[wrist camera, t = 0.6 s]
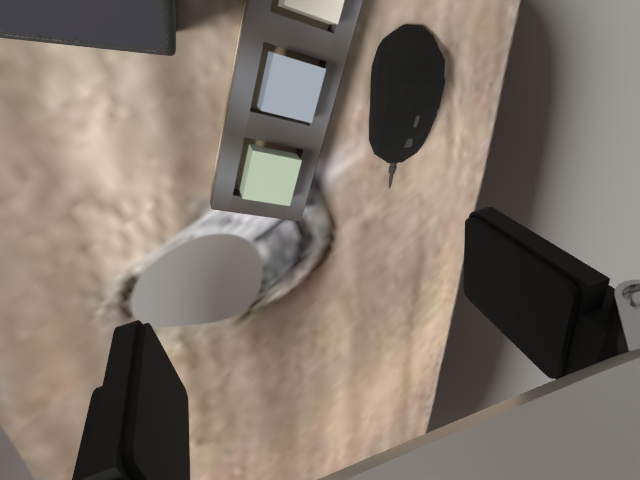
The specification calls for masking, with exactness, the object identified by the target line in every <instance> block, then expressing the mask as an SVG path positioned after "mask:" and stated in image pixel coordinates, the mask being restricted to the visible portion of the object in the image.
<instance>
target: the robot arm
mask: <svg viewBox="0 0 640 480" xmlns="http://www.w3.org/2000/svg"><path fill="white" fill-rule="evenodd" d="M609 280H610V278H608V277H607V276H605V275H603V274H602V273H600V272H598V271H597V270H595V269H593V268H591V267H590V266H588V265H587V264H585V263H583V262H582V261H580V260H578V259H577V258H575V257H574V256H572V255H570V254H569V253H567V252H565V251H563V250H562V249H560V248H558V247H557V246H555V245H554V244H552V243H550V242H549V241H547V240H545V239H544V238H542V237H540V236H539V235H537V234H536V233H534V232H532V231H531V230H529V229H527V228H526V227H524V226H522V225H521V224H519V223H517V222H516V221H514V220H512V219H511V218H509V217H508V216H506V215H504V214H503V213H501V212H499V211H498V210H496V209H494V208H492V207H486V208H484V209H480V210H477V211H474V212H472V213H470V215H469V218H468V219H467V220H466V221H465V248H464V286H463V287H464V293H465V295H466V297H467V298H468V299H469V301H471V302H472V303H473V304H474V305H475V306H476V307H477V308H478V309H479V310H480V311H481V312H482V313H483V314H484V315H485V316H486V317H487V318H488V319H489V320H490V321H491V322H492V323H493V324H494V325H495V326H496V327H497V328H498V329H499V330H500V331H501V332H502V333H503V334H504V335H505V336H507V338H508V339H510V340H511V341H512V342H513V343H514V344H515V345H516V346H517V347H518V348H519V349H520V350H521V351H522V352H523V353H524V354H525V355H526V356H527V357H528V358H529V359H530V360H531V361H532V362H533V363H534V364H535V365H536V366H537V367H538V368H539V369H540V370H541V371H542V372H543V373H544V374H545V375H547V376H548V377H550V378H552V379H554V378H555V379H556V380H554V381H552V382H549V383H547V384H544V385H542V386H540V387H537V388H535V389H532V390H530V391H528V392H525V393H523V394H520V395H518V396H515V397H513V398H511V399H508V400H506V401H504V402H501V403H498V404H496V405H494V406H491V407H489V408H486V409H484V410H482V411H479V412H477V413H475V414H472V415H470V416H467V417H465V418H462V419H460V420H458V421H456V422H453V423H451V424H448V425H446V426H444V427H441V428H439V429H436V430H434V431H432V432H429V433H427V434H424V435H422V436H420V437H417V438H415V439H412V440H410V441H408V442H405V443H403V444H401V445H398V446H396V447H393V448H391V449H389V450H386V451H384V452H382V453H379V454H377V455H375V456H372V457H370V458H367V459H365V460H363V461H360V462H358V463H356V464H353V465H351V466H349V467H346V468H344V469H342V470H339V471H337V472H335V473H332V474H330V475H328V476H325V477H323V478H321V479H318V480H640V280H630V281H625V282H623V283H621V284H619V285H618V286H617V287H616V288H615V289H614V288H613V287H611V286H609V285H608V284H609ZM72 480H190V454H189V411H188V396H187V392H186V389H185V387H184V385H183V384H182V382H181V380H180V378H179V376H178V374H177V372H176V371H175V369H174V367H173V365H172V363H171V361H170V360H169V358H168V356H167V354H166V352H165V350H164V348H163V347H162V345H161V343H160V341H159V339H158V337H157V336H156V334H155V332H154V330H153V328H152V326H151V325H150V324H149V323H146V324H142V322H141V321H139V320H137V321H134V322H131V323H128V324H125V325H122V326H119V327H116V328H115V330H114V334H113V338H112V343H111V348H110V353H109V358H108V362H107V367H106V372H105V377H104V382H103V386H101V387H98V388H96V389H95V390H94V391H93V394H92V397H91V401H90V405H89V409H88V413H87V418H86V422H85V426H84V431H83V435H82V439H81V444H80V448H79V452H78V457H77V461H76V465H75V470H74V474H73V478H72Z"/></svg>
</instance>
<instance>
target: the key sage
mask: <svg viewBox="0 0 640 480" xmlns="http://www.w3.org/2000/svg"><path fill="white" fill-rule="evenodd" d="M301 162H302V160H301V159H300V158H299V157H298V155H297V154H296V153H291V152H286V151H281V150H276V149H272V148H267V147H262V146H257V145H253V144H249V147H248V151H247V156H246V161H245V166H244V170H243V175H242V180H241V185H240V193H241V196H242V199H247V200H253V201H260V202H266V203H273V204H279V205H286V206H290V203H291V200H292V196H293V192H294V188H295V185H296V181H297V177H298V173H299V170H300V166H301Z"/></svg>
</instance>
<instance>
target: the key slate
mask: <svg viewBox="0 0 640 480" xmlns="http://www.w3.org/2000/svg"><path fill="white" fill-rule="evenodd" d="M325 72H326V69H325V68H322V67H319V66H315V65H312V64H309V63H306V62H302V61H299V60H296V59H293V58H289V57H286V56H283V55H280V54H276V53H273V52H270V51H268V56H267V60H266V65H265V70H264V75H263V79H262V84H261V89H260V94H259V99H258V103H257V107H258V108H259V109H260V110H261V111H264V112H268V113H272V114H276V115H280V116H284V117H288V118H292V119H297V120H301V121H305V122H309V123H312V121H313V117H314V113H315V109H316V106H317V102H318V98H319V94H320V91H321V87H322V83H323V79H324V76H325Z"/></svg>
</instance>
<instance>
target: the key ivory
mask: <svg viewBox="0 0 640 480" xmlns="http://www.w3.org/2000/svg"><path fill="white" fill-rule="evenodd" d="M343 4H344V0H279V3H278V6H279V7H282V8H285V9H288V10H291V11H294V12H296V13H299V14H302V15H305V16H308V17H310V18H313V19H316V20H319V21H322V22H324V23H327V24H338V23H339V19H340V15H341V12H342V8H343Z"/></svg>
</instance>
